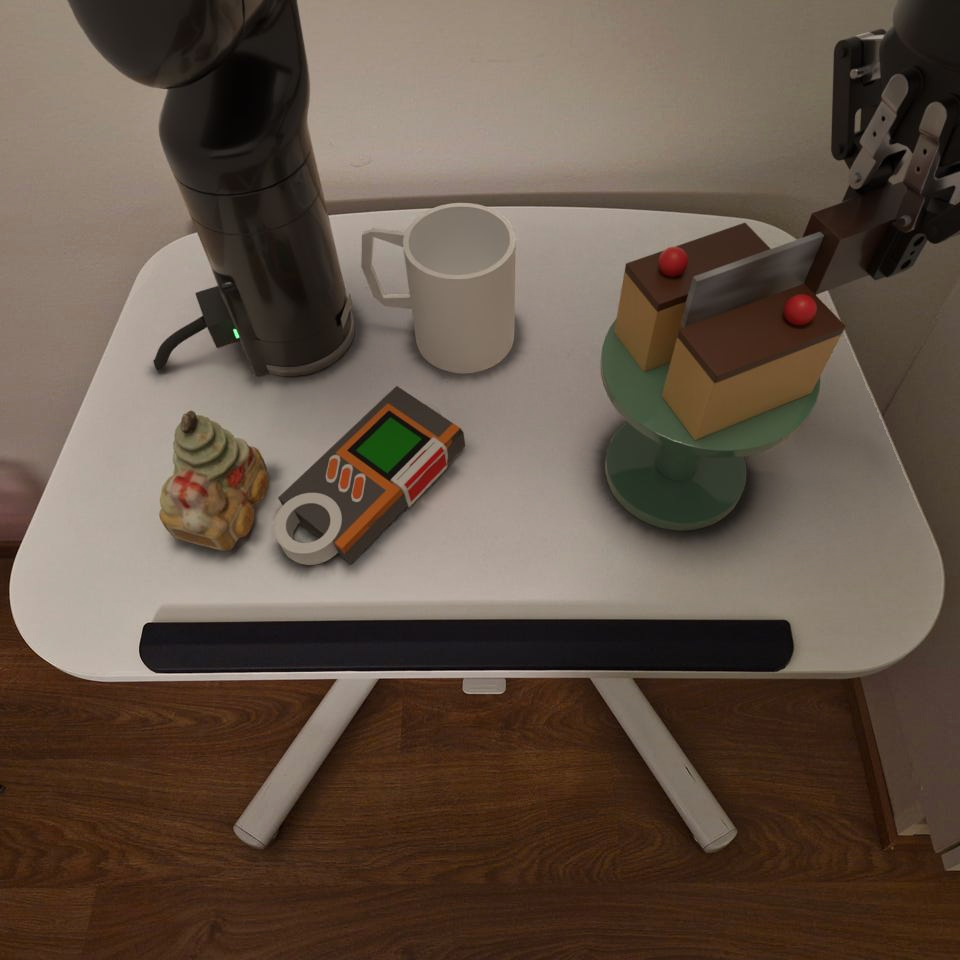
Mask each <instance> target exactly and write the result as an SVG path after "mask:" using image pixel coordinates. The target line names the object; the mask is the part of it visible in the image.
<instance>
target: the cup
mask: <svg viewBox="0 0 960 960" xmlns="http://www.w3.org/2000/svg"><path fill="white" fill-rule="evenodd" d="M375 239H378V240H382V241H384V242H387V243H390V244H393V245H395V246H398V247H401V248H403V249H402V251H403V255H404V262H405V264H404V265H405V270H406V277H407V285H408V292H409V293H404V294H403V293H401V294H399V293H398V294H397V293H396V294H395V293H394V294H385V292H384V289H383V287H382V285H381V282H380V280H379V277H378V274H377V273H376V270H375V268H374V265H373V259H374V258H373V257H374V256H373V255H374V240H375ZM516 243H517V240H516V232H515V229H514V227H513V225H512V223H511V222H510V221H509V220H508V219H507V217H505V216H504V215H503V214H502V213H500V212H499V211H497V210H495V209H493V208H492V207H488V206H485V205H482V204H479V203H472V202H453V203H447V204H441V205H438V206H435V207H432V208H429V209H428V210H426V211H424V212H422V213H421V214H419V215H418V216H417V217H415V218H414V219H413V220H412V221H411V222H410V223H409V224H408V226H407V228H406V229H405V231H403V230H395V229H385V228H376V227H371V228H369V229H367V230H364V231H362V233H361V259H360V260H361V261H360V267H361V269H362V272H363V274H364V277H365V279H366V282H367V284H368V287H369V289H370V291H371V294H372V297H373V298H374V299H376V300H377V301H378V302H379V303H380V304H382V305H383V306H384V307H390V308H398V309H405V310H411V314H412V321H413V330H414V334H415V336H414V337H415V343H416V346H417V349H418V352H419V354H420V355H421V356H422V358H424V359H425V360H426V362H427V363H428V364H430V365H432V366H433V367H435V368H437V369H439V370H442V371H445V372H449V373H453V374H473V373H478V372H483V371H486V370H488V369H490V368H492V367H494V366H496V365H497V364H499V363H501V362H502V361H503V360H504V359H505V358H506V357H507V356H508V354H509V353H510V351H511V350H512V349H513V345H514V343H515V327H516V326H515V321H516V319H515V318H516V317H515V316H516V314H515V313H516V307H515V306H516V256H517V255H516V249H517V245H516Z"/></svg>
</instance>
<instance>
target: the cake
mask: <svg viewBox="0 0 960 960" xmlns="http://www.w3.org/2000/svg"><path fill="white" fill-rule="evenodd" d="M770 249H772V248H771V247H770V246H769V245H768V244H767V243H766V242H765V241H764V240H763V239H762V238H761V237H760V236H759V235H758V234H757V233H756V232H755V231H754V229H752V228H751V226H750V225H748V224H747V223H746V222H742V223H739V224H735V225H734V226H731V227H728V228H724V229H722V230H719V231H715V232H713V233H710V234H708V235H705V236H702V237H697V238H695V239H692V240H689V241H687V242H683V243H681V244H679V245H675V246H670V247H666V248H665V249H664V250H661V251H658V252H655V253H652V254H649V255H647V256H644V257H640V258H637V259H635V260H632V261H628V262H626V263H625V266H624V267H625V268H624V273H623V277H622V283H621V289H620V295H619V302H618V307H617V314H616V318H617V319H616V318H615V319H616V325H615V331H614V333H615V334H616V336H617V337H618V338H619V340H620V341H621V342H622V344H623V345H624V346H625V348H626V349H627V350H628V352H629V353H630V354H631V356H632V357H633V358H634V360H635V361H636V363H637V364H638V365H639V367H640V368H641V369H642V371H643V372H645V371H648V370H650V369H653V368H656V367H658V366H661V365H664V364H666V363H669V362H671V363H670V366H669V370H668V374H667V378H666V381H665V385H664V389H663V393H662V397H663V399H664V400H665V401H666V403H667V404H668V405H669V407H670V408H671V409H672V411H673V412H674V413H675V415H676V416H677V417H678V419H679V420H680V421H681V423H682V424H683V425H684V427H685V428H686V429H687V431H688V432H689V434H690V435H691V436H692V438H693V439H694V440H697V439H700V438H702V437H704V436H707V435H709V434H712V433H714V432H717V431H719V430H722V429H724V428H727V427H729V426H732V425H734V424H737V423H739V422H742V421H744V420H746V419H749V418H751V417H754V416H756V415H759V414H761V413H764V412H766V411H769V410H771V409H774V408H776V407H779V406H781V405H784V404H786V403H789V402H791V401H793V400H796V399H798V398H801V397H803V396H806V395H808V394H811V393H812V391H813V389H814V387H815V385H816V383H817V381H818V379H819V377H820V378H821V376H822V373H823V371H824V370H825V368H826V366H827V363H828V362H829V360H830V359H831V356H832V355H833V353H834V350H835V348H836V346H837V344H838V342H839V341H840V339H841V337H842V334H843V333H844V331H845V329H846V325H845V323H843V322H842V321H841V319H839V317H838V316H837V315H836V314H835V313H834V312H833V311H832V310H831V309H830V307H828V306H827V305H826V304H825V303H824V302H823V301H822V300H821V299H820V298H819V297H818V296H817V295H815V294H814V293H813V292H812V291H811V290H810V289H809V288H808V287H807V286H806V285H805V284H801V285H798V286H796V287H793V288H790V289H788V290H785V291H782V292H780V293H777V294H774V295H771V296H769V297H766V298H763V299H761V300H758V301H755V302H752V303H750V304H747V305H744V306H742V307H739V308H736V309H734V310H731V311H728V312H725V313H723V314H720V315H717V316H715V317H712V318H709V319H707V320H704V321H701V322H698V323H696V324H693V325H690V326H688V327H685V328H683V327H682V326H681V325H680V323H681V319H682V316H683V312H684V308H685V305H686V301H687V297H688V294H689V290H690V286H691V283H692V279H693V277H694V276H697V275H700V274H702V273H705V272H708V271H711V270H714V269H716V268H719V267H722V266H725V265H728V264H730V263H733V262H736V261H739V260H742V259H744V258H747V257H750V256H753V255H756V254H758V253H761V252H764V251H767V250H770Z"/></svg>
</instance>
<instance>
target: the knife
mask: <svg viewBox="0 0 960 960" xmlns="http://www.w3.org/2000/svg"><path fill="white" fill-rule="evenodd" d="M892 184H893V185H890V186H887V187H884V188H882V189H879V190H876V191H873V192H870V193H867V194H864V195H862V196H859V197H856V198H853V199H850V200H847V201H844V202H842V201H841V202H839V203H837V204H832V205H831V206H828V207H827V206H826V207H824V208H822V209H819V210H816V211H813V212H812V213H811V214H810V216H809V219H808V222H807V224H806V227H805V230H804V232H803V233H802V234H803V235H802V237H801V238H797V239H795V240H793V241H789V242H786V243H784V244H781V245H778V246H776V247H773V248H771V249H770V250H767V251H764V252H761V253H758V254H756V255H753V256H750V257H747V258H744V259H742V260H739V261H736V262H733V263H730V264H728V265H725V266H722V267H719V268H716V269H714V270H711V271H708V272H705V273H702V274H700V275H697V276H694V277H693V279H692V283H691V286H690V290H689V294H688V297H687V301H686V305H685V308H684V312H683V316H682V319H681V323H680V325H681V326H682V327H683V328H685V327H688V326H690V325H693V324H696V323H698V322H701V321H704V320H707V319H709V318H712V317H715V316H717V315H720V314H723V313H725V312H728V311H731V310H734V309H736V308H739V307H742V306H744V305H747V304H750V303H752V302H755V301H758V300H761V299H763V298H766V297H769V296H771V295H774V294H777V293H780V292H782V291H785V290H788V289H790V288H793V287H796V286H798V285H801V284H805V285H806V286H807V287H808V288H809V289H810V290H811V291H812V292H813V293H814V294H815V295H816V296H817V295H820V294H822V293H825V292H828V291H830V290H833V289H836V288H838V287H841V286H843V285H846V284H849V283H852V282H854V281H858V280H859V279H862V278H865V277H867V276H870V275H869V274H868V273H867V272H866V270H867V267H868V265H869V264H870V262H871V260H872V258H873V256H874V254H875V252H876V250H877V248H878V246H879V244H880V242H881V240H882V238H883V236H884V234H885V232H886V230H887V228H888V226H889V224H890V222H893V221H896V216H897V213H898V210H899V208H900V205H901V202H902V200H903V197H904V195H905V192H906V189H907V186H905V185H904V184H903V180H902V181H899V182H896V183H892Z"/></svg>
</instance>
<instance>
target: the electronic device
mask: <svg viewBox="0 0 960 960" xmlns="http://www.w3.org/2000/svg"><path fill="white" fill-rule="evenodd" d="M465 447H466V440H465V433H464V430H463V429H462V428H461V427H460V426H458V425H456V424H455V423H454V422H453V421H450V420H449V419H448V418H446V417H445V416H443V415H442V413H441V411H439V410H438V409H437V408H436V407H433V405H431V404H430V403H424V402H422V401H421V400H419V399H418V398H416V397H415V396H413V395H412V394H410V393H408V392H407V391H406V390H404V389H402V388H401V387H400V386H399V385H396V386H395V387H393V388H392V389H391V390H390V391H389V392H388V393H387V394H386V395H385V396H384V397H383V398H382V399H381V400H380V401H379V402H378V403H377V404H376V405H374V406H373V408H371V409H370V410H369V411H367V413H366V414H365V415H364V416H362V417H361V419H360V420H359V421H357V422H356V423H355V424H354V425H352V427H351V428H350V429H349V430H348V431H347V432H346V433H344V434H343V435H342V436H341V438H340V439H338V440H337V441H336V442H335V444H333V445H332V446H331V447H330V448H329V449H328V450H327V451H325V453H323V455H322V456H321V457H320V458H318V460H316V461H315V462H313V464H312V465H311V466H310V467H309V468H308V469H307V470H306V471H304V472H303V474H301V475H300V476H299V477H298V478H297V479H296V480H295V481H294V482H292V484H291V485H289V487H288V488H286V489H285V491H283V492H282V493H281V494H280V495H279V496H278V497H277V499H278V500H279V503H280V504H281V507H280V508H279V510H278V512H277V513H276V515H275V518H274V521H273V533H274V536H275V539H276V541H277V543H278V544H279V546H280V547H281V549H282V550H283V552H284V554H285V556H287V557H288V558H289V559H290V560H292V561H293V562H295V563H298V564H301V565H306V566H314V565H318V564H319V565H320V564H322V563H325V562H327V561H329V560H331V559H333V558H334V557H335V556H336V555H337V554H338V555H339V556H340V557H341V558H343V559H344V560H345V561H346V562H347V563H349V564H350V565H352V564H353V563H354V562H355V561H356V560H357V559H358V558H359V557H360V556H361V555H362V554H363V553H364V552H365V551H366V549H368V548H369V547H370V546H371V544H373V543H374V541H375V540H376V539H378V537H379V536H380V535H381V534H382V533H383V532H384V531H385V530H386V529H387V528H388V527H389V526H390V525H391V524H392V523H393V522H394V521H395V520H396V519H397V517H398V516H400V515H401V513H402V512H404V511H405V509H406V508H407V507H408V509H410V507H411V506H413V504H414V503H416V501H417V500H418V499H419V498H420V497H421V496H422V495H423V494H424V493H425V492H426V491H427V490H428V489H429V487H431V486H432V484H433V483H434V482H435V481H436V480H437V479H438V478H439V477H440V476H442V474H443V473H444V472H445V471H446V470H447V468H448V465H449V464H450V463H451V462H452V461H453V460H454V458H456V456H457V455H459V454H460V452H461V451H462V450H463V449H465ZM299 524H300V525H301V526H303V527H304V528H305V529H307V530H308V531H309V532H310V533H311V534H313V535H314V536H315V537H316V538H317V540H313V541H310V542H299V541H296V540H294V532H295V530H296V528H297V526H298V525H299Z"/></svg>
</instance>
